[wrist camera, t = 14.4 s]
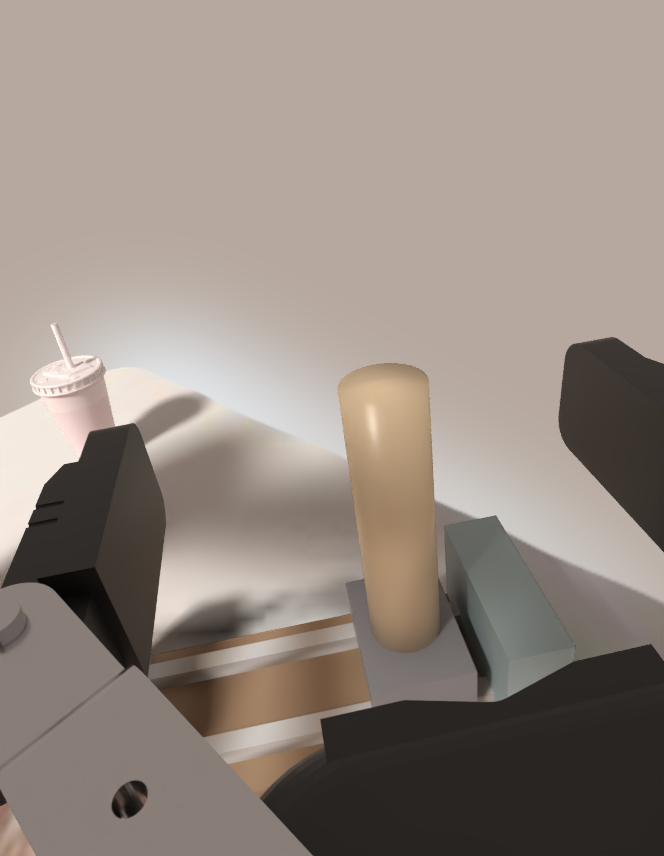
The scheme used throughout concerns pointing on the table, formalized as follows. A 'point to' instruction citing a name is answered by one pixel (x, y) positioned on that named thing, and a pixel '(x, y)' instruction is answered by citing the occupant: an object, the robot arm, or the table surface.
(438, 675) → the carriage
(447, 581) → the pair of sage blocks
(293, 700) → the rail bed
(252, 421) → the table surface
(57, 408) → the smoothie
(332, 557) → the table surface
